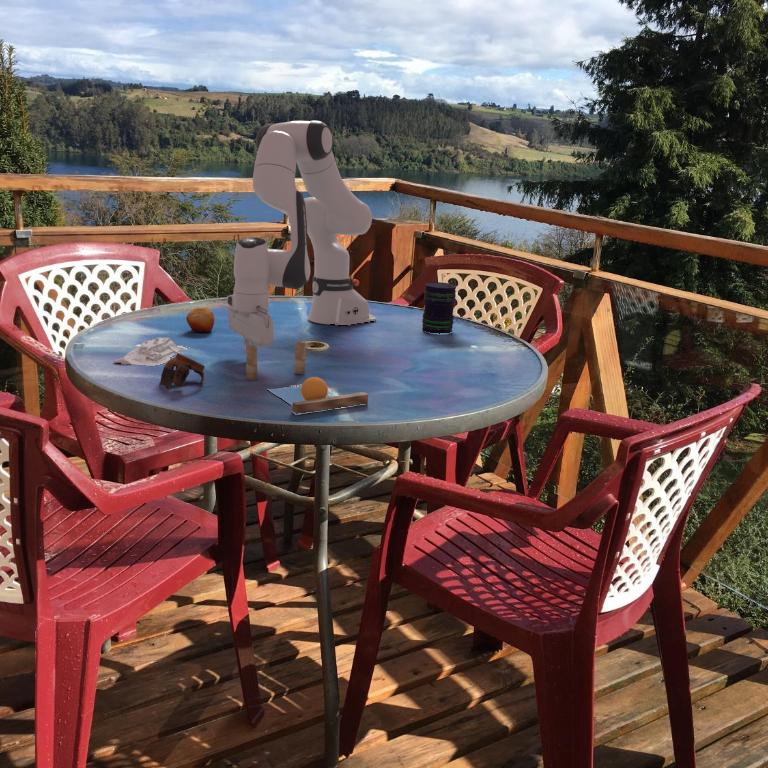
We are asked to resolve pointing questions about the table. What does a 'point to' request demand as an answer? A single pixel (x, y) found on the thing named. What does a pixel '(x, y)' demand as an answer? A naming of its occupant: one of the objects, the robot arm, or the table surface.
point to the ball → (314, 388)
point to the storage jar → (438, 307)
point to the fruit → (200, 319)
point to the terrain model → (152, 353)
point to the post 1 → (251, 362)
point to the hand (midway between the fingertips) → (250, 354)
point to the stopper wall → (330, 402)
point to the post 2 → (300, 357)
